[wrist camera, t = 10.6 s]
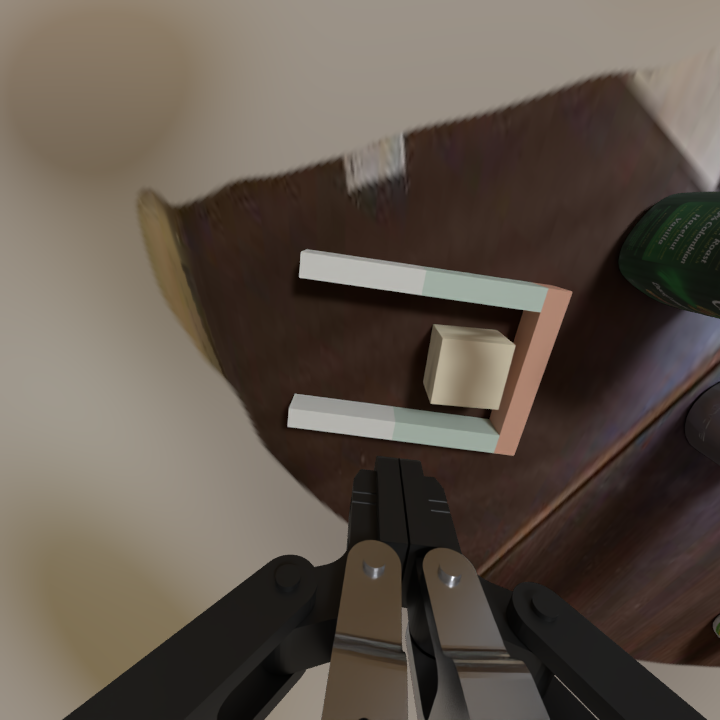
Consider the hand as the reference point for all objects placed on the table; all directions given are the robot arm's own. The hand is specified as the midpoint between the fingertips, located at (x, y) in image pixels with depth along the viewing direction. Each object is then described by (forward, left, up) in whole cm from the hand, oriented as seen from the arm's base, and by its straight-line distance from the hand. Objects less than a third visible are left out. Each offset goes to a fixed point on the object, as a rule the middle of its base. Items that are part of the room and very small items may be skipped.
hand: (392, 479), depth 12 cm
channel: (-3, +3, -22) cm, 22 cm away
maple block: (-9, +2, -22) cm, 24 cm away
